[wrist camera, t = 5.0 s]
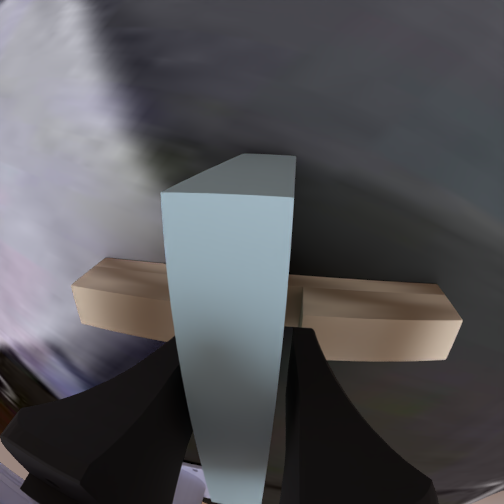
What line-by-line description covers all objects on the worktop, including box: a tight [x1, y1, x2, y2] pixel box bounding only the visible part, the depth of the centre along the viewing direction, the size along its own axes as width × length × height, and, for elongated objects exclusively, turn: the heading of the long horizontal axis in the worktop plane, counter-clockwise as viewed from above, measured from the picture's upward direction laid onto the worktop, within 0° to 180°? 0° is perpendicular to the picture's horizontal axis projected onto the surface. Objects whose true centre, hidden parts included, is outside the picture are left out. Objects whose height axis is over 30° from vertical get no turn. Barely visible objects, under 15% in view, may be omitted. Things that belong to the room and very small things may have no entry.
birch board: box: [71, 258, 463, 361], centre depth 12 cm, size 16×2×3 cm, turn 89°
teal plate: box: [161, 154, 296, 504], centre depth 10 cm, size 2×12×8 cm, turn 178°
